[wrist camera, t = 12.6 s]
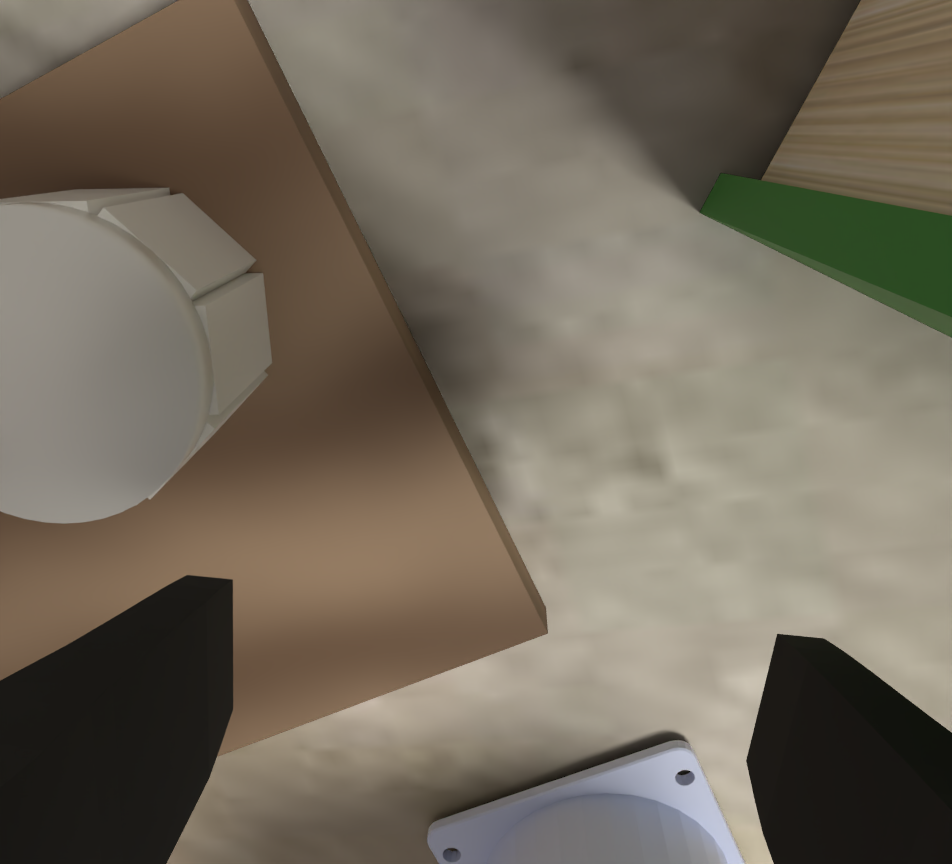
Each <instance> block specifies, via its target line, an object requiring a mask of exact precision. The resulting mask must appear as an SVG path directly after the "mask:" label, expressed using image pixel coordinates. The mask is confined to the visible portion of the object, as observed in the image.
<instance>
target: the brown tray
mask: <svg viewBox="0 0 952 864" xmlns="http://www.w3.org/2000/svg"><path fill="white" fill-rule="evenodd" d="M122 188H169V190H170V195H175V194H180V193H183V194H184V195H186V196H187V197H188V198H189V199H190V200H191V201H192V202H193V203H194V204H195V205H197V206H198V207H199V208H200V209H201V210H202V211H203V212H204V213H205V214H206V215H207V216H209V217H210V218H211V219H212V220H213V221H214V222H215V223H216V224H217V225H218V226H220V227H221V228H222V229H223V230H224V231H225V232H226V233H227V234H228V235H229V236H231V237H232V238H233V239H234V240H235V241H236V242H237V243H238V244H239V245H240V246H242V247H243V248H244V249H245V250H246V251H247V252H248V253H249V254H250V255H251V256H252V257H254V258H255V259H256V261H255V263H254V264H253V265H252V266H251V267H250V268H249V269H248V271H247V272H246V273H263V278H264V287H265V297H266V307H267V317H268V327H269V337H270V347H271V356H272V364H271V365H270V366H269V367H267V368H266V369H265V370H264V371H265V372H266V373H267V374H268V376H267V377H266V378H265V379H264V380H263V381H262V382H261V383H260V385H259V386H258V387H257V388H256V389H255V390H254V391H253V392H252V393H251V394H250V395H249V397H248V398H247V399H246V400H245V401H244V402H243V403H242V404H241V405H240V406H239V408H238V409H237V410H236V411H235V412H234V413H233V414H232V415H231V416H230V417H229V419H228V420H227V421H226V422H225V423H224V424H223V425H222V426H221V427H220V428H219V429H218V431H217V432H216V433H215V434H214V435H213V436H212V437H211V438H210V439H209V440H208V441H207V442H206V443H205V444H204V445H203V446H202V447H201V448H200V449H199V450H198V451H197V452H196V453H195V454H194V455H193V456H192V457H191V458H190V459H189V460H188V462H187V463H186V464H185V465H184V466H183V467H182V468H181V469H180V470H179V471H178V472H177V473H176V474H175V475H174V476H173V477H172V478H171V479H170V480H169V481H168V482H167V483H166V484H165V485H164V486H163V487H162V488H161V489H160V490H159V491H158V492H157V493H156V494H155V495H154V496H153V497H152V498H151V499H148V498H146V499H144V500H143V501H141V502H140V503H139V504H138V505H135V506H133V507H131V508H129V509H127V510H125V511H123V512H121V513H118V514H115V515H112V516H109V517H107V518H104V519H99V520H94V521H88V522H82V523H66V524H63V523H46V522H39V521H34V520H28V519H23V518H20V517H16V516H13V515H10V514H6V513H3V512H1V511H0V680H2V679H4V678H6V677H8V676H9V675H11V674H13V673H15V672H17V671H19V670H21V669H23V668H24V667H26V666H28V665H30V664H32V663H34V662H36V661H38V660H39V659H41V658H43V657H45V656H47V655H49V654H51V653H53V652H55V651H56V650H58V649H60V648H62V647H64V646H66V645H68V644H69V643H71V642H73V641H75V640H76V639H78V638H80V637H81V636H83V635H85V634H86V633H88V632H90V631H92V630H93V629H95V628H97V627H98V626H100V625H102V624H103V623H105V622H107V621H109V620H110V619H112V618H114V617H115V616H117V615H119V614H120V613H122V612H124V611H125V610H127V609H129V608H130V607H132V606H134V605H135V604H137V603H139V602H140V601H142V600H144V599H145V598H147V597H149V596H150V595H152V594H154V593H155V592H157V591H159V590H160V589H162V588H164V587H166V586H167V585H169V584H171V583H173V582H174V581H176V580H178V579H180V578H182V577H184V576H186V575H193V576H203V577H213V578H223V579H233V712H232V715H231V717H230V720H229V723H228V726H227V729H226V732H225V735H224V738H223V741H222V744H221V747H220V750H219V752H218V755H217V756H220V755H223V754H225V753H228V752H231V751H233V750H236V749H239V748H241V747H244V746H247V745H250V744H252V743H255V742H258V741H260V740H263V739H266V738H268V737H271V736H274V735H276V734H279V733H282V732H284V731H287V730H290V729H292V728H295V727H298V726H301V725H303V724H306V723H309V722H311V721H314V720H317V719H319V718H322V717H325V716H327V715H330V714H333V713H335V712H338V711H341V710H343V709H346V708H349V707H352V706H354V705H357V704H360V703H362V702H365V701H368V700H370V699H373V698H376V697H378V696H381V695H384V694H386V693H389V692H392V691H394V690H397V689H400V688H403V687H405V686H408V685H411V684H413V683H416V682H419V681H421V680H424V679H427V678H429V677H432V676H435V675H437V674H440V673H443V672H445V671H448V670H451V669H454V668H456V667H459V666H462V665H464V664H467V663H470V662H472V661H475V660H478V659H480V658H483V657H486V656H488V655H491V654H494V653H496V652H499V651H502V650H505V649H507V648H510V647H513V646H515V645H518V644H521V643H523V642H526V641H529V640H531V639H534V638H537V637H539V636H542V635H545V634H547V633H548V629H547V617H546V607H545V605H544V603H543V601H542V599H541V597H540V595H539V593H538V591H537V589H536V587H535V585H534V583H533V581H532V579H531V577H530V575H529V573H528V571H527V569H526V566H525V564H524V562H523V560H522V558H521V556H520V554H519V552H518V550H517V548H516V546H515V544H514V542H513V540H512V538H511V536H510V534H509V532H508V530H507V528H506V526H505V524H504V522H503V520H502V518H501V516H500V514H499V512H498V509H497V507H496V505H495V503H494V501H493V499H492V497H491V495H490V493H489V491H488V489H487V487H486V485H485V483H484V481H483V479H482V477H481V475H480V473H479V471H478V469H477V467H476V465H475V463H474V461H473V459H472V457H471V455H470V452H469V450H468V448H467V446H466V444H465V442H464V440H463V438H462V436H461V434H460V432H459V430H458V428H457V426H456V424H455V422H454V420H453V418H452V416H451V414H450V412H449V410H448V408H447V406H446V404H445V402H444V400H443V398H442V395H441V393H440V391H439V389H438V387H437V385H436V383H435V381H434V379H433V377H432V375H431V373H430V371H429V369H428V367H427V365H426V363H425V361H424V359H423V357H422V355H421V353H420V351H419V349H418V347H417V345H416V343H415V341H414V338H413V336H412V334H411V332H410V330H409V328H408V326H407V324H406V322H405V320H404V318H403V316H402V314H401V312H400V310H399V308H398V306H397V304H396V302H395V300H394V298H393V296H392V294H391V292H390V290H389V288H388V286H387V284H386V281H385V279H384V277H383V275H382V273H381V271H380V269H379V267H378V265H377V263H376V261H375V259H374V257H373V255H372V253H371V251H370V249H369V247H368V245H367V243H366V241H365V239H364V237H363V235H362V233H361V231H360V229H359V227H358V224H357V222H356V220H355V218H354V216H353V214H352V212H351V210H350V208H349V206H348V204H347V202H346V200H345V198H344V196H343V194H342V192H341V190H340V188H339V186H338V184H337V182H336V180H335V178H334V176H333V174H332V172H331V170H330V167H329V165H328V163H327V161H326V159H325V157H324V155H323V153H322V151H321V149H320V147H319V145H318V143H317V141H316V139H315V137H314V135H313V133H312V131H311V129H310V127H309V125H308V123H307V121H306V119H305V117H304V115H303V113H302V110H301V108H300V106H299V104H298V102H297V100H296V98H295V96H294V94H293V92H292V90H291V88H290V86H289V84H288V82H287V80H286V78H285V76H284V74H283V72H282V70H281V68H280V66H279V64H278V62H277V60H276V58H275V55H274V53H273V51H272V49H271V47H270V45H269V43H268V41H267V39H266V37H265V35H264V33H263V31H262V29H261V27H260V25H259V23H258V21H257V19H256V17H255V15H254V13H253V11H252V9H251V7H250V5H249V3H248V1H247V0H178V1H177V2H175V3H173V4H171V5H169V6H168V7H166V8H164V9H162V10H160V11H159V12H157V13H155V14H153V15H151V16H150V17H148V18H146V19H144V20H142V21H141V22H139V23H137V24H135V25H133V26H131V27H130V28H128V29H126V30H124V31H122V32H121V33H119V34H117V35H115V36H113V37H112V38H110V39H108V40H106V41H104V42H103V43H101V44H99V45H97V46H95V47H94V48H92V49H90V50H88V51H86V52H85V53H83V54H81V55H79V56H77V57H75V58H74V59H72V60H70V61H68V62H66V63H65V64H63V65H61V66H59V67H57V68H56V69H54V70H52V71H50V72H48V73H47V74H45V75H43V76H41V77H39V78H38V79H36V80H34V81H32V82H30V83H28V84H27V85H25V86H23V87H21V88H19V89H18V90H16V91H14V92H12V93H10V94H9V95H7V96H5V97H3V98H1V99H0V199H5V198H13V197H20V196H28V195H36V194H43V193H51V192H59V191H67V190H74V189H122Z"/></svg>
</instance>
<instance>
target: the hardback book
mask: <svg viewBox="0 0 952 864" xmlns="http://www.w3.org/2000/svg"><path fill="white" fill-rule="evenodd" d="M700 213H701V214H703V215H705V216H707V217H709V218H711V219H714V220H716V221H718V222H720V223H722V224H724V225H726V226H728V227H730V228H732V229H734V230H736V231H738V232H740V233H742V234H744V235H746V236H748V237H750V238H752V239H754V240H756V241H758V242H760V243H762V244H764V245H766V246H768V247H770V248H772V249H774V250H776V251H778V252H780V253H782V254H784V255H786V256H788V257H790V258H792V259H794V260H796V261H798V262H800V263H802V264H804V265H806V266H808V267H810V268H812V269H814V270H816V271H818V272H820V273H822V274H824V275H827V276H829V277H831V278H833V279H835V280H837V281H839V282H841V283H843V284H845V285H847V286H849V287H851V288H853V289H855V290H857V291H859V292H861V293H863V294H865V295H867V296H869V297H871V298H873V299H875V300H877V301H879V302H881V303H883V304H885V305H887V306H889V307H891V308H893V309H895V310H897V311H899V312H901V313H903V314H905V315H907V316H909V317H911V318H913V319H915V320H917V321H919V322H921V323H923V324H925V325H927V326H929V327H931V328H933V329H935V330H937V331H940V332H942V333H944V334H946V335H948V336H950V337H952V0H861V1H860V3H859V5H858V7H857V8H856V10H855V12H854V14H853V16H852V17H851V19H850V21H849V23H848V25H847V26H846V28H845V30H844V32H843V34H842V35H841V37H840V39H839V41H838V43H837V44H836V46H835V48H834V50H833V52H832V53H831V55H830V57H829V59H828V60H827V62H826V64H825V66H824V68H823V69H822V71H821V73H820V75H819V77H818V78H817V80H816V82H815V84H814V86H813V87H812V89H811V91H810V93H809V95H808V96H807V98H806V100H805V102H804V104H803V105H802V107H801V109H800V111H799V113H798V114H797V116H796V118H795V120H794V122H793V123H792V125H791V127H790V129H789V131H788V132H787V134H786V136H785V138H784V140H783V141H782V143H781V145H780V147H779V149H778V150H777V152H776V154H775V156H774V158H773V159H772V161H771V163H770V165H769V167H768V168H767V170H766V172H765V174H764V176H763V177H762V179H761V180H757V179H751V178H746V177H740V176H735V175H730V174H724V173H721V174H720V175H719V177H718V179H717V181H716V183H715V185H714V187H713V188H712V190H711V192H710V194H709V196H708V198H707V200H706V201H705V203H704V205H703V207H702V209H701V211H700Z"/></svg>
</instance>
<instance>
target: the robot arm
mask: <svg viewBox="0 0 952 864" xmlns="http://www.w3.org/2000/svg"><path fill="white" fill-rule="evenodd" d="M232 712H233V579H223V578H213V577H203V576H193V575H186V576H184V577H182V578H180V579H178V580H176V581H174V582H173V583H171V584H169V585H167V586H166V587H164V588H162V589H160V590H159V591H157V592H155V593H154V594H152V595H150V596H149V597H147V598H145V599H144V600H142V601H140V602H139V603H137V604H135V605H134V606H132V607H130V608H129V609H127V610H125V611H124V612H122V613H120V614H119V615H117V616H115V617H114V618H112V619H110V620H109V621H107V622H105V623H103V624H102V625H100V626H98V627H97V628H95V629H93V630H92V631H90V632H88V633H86V634H85V635H83V636H81V637H80V638H78V639H76V640H75V641H73V642H71V643H69V644H68V645H66V646H64V647H62V648H60V649H58V650H56V651H55V652H53V653H51V654H49V655H47V656H45V657H43V658H41V659H39V660H38V661H36V662H34V663H32V664H30V665H28V666H26V667H24V668H23V669H21V670H19V671H17V672H15V673H13V674H11V675H9V676H8V677H6V678H4V679H2V680H0V864H166V863H167V861H168V859H169V857H170V855H171V853H172V851H173V849H174V847H175V845H176V843H177V841H178V839H179V837H180V835H181V833H182V831H183V829H184V827H185V825H186V823H187V821H188V819H189V817H190V815H191V813H192V811H193V810H194V808H195V806H196V804H197V802H198V800H199V798H200V796H201V793H202V791H203V789H204V787H205V785H206V783H207V781H208V779H209V777H210V774H211V771H212V769H213V766H214V763H215V760H216V758H217V755H218V752H219V750H220V747H221V744H222V741H223V738H224V735H225V732H226V729H227V726H228V723H229V720H230V717H231V715H232ZM746 761H747V766H748V770H749V775H750V780H751V784H752V789H753V794H754V798H755V803H756V807H757V811H758V815H759V819H760V823H761V827H762V831H763V835H764V837H765V840H766V843H767V846H768V849H769V851H770V854H771V857H772V860H773V862H774V864H952V733H951V732H950V731H949V730H947V729H946V728H945V727H943V726H942V725H941V724H939V723H938V722H937V721H935V720H934V719H933V718H931V717H930V716H929V715H927V714H926V713H925V712H923V711H922V710H921V709H919V708H918V707H917V706H915V705H914V704H913V703H912V702H910V701H909V700H908V699H906V698H905V697H904V696H902V695H901V694H900V693H898V692H897V691H896V690H895V689H893V688H892V687H891V686H889V685H888V684H887V683H885V682H884V681H883V680H881V679H880V678H879V677H878V676H876V675H875V674H874V673H872V672H871V671H870V670H868V669H867V668H866V667H864V666H863V665H862V664H860V663H859V662H858V661H856V660H855V659H854V658H852V657H851V656H849V655H848V654H847V653H845V652H844V651H842V650H841V649H839V648H838V647H836V646H835V645H833V644H832V643H830V642H829V641H827V640H825V639H823V638H813V637H803V636H793V635H783V634H777V638H776V642H775V646H774V650H773V654H772V658H771V662H770V666H769V670H768V674H767V678H766V683H765V687H764V691H763V695H762V699H761V703H760V707H759V711H758V715H757V719H756V723H755V728H754V732H753V736H752V740H751V744H750V748H749V752H748V756H747V760H746ZM681 770H689V771H690V772H689V773H688V774H686V775H678V774H677V773H678V772H680V771H681ZM427 843H428V846H429V848H430V849H431V851H432V853H433V854H434V856H435V858H436V859H437V861H438V863H439V864H746V863H745V861H744V859H743V857H742V854H741V852H740V850H739V848H738V846H737V843H736V841H735V839H734V837H733V835H732V832H731V830H730V828H729V826H728V824H727V822H726V819H725V817H724V815H723V813H722V811H721V808H720V806H719V804H718V802H717V800H716V797H715V795H714V793H713V791H712V789H711V786H710V784H709V782H708V780H707V778H706V775H705V773H704V771H703V769H702V767H701V765H700V762H699V760H698V758H697V756H696V754H695V751H694V749H693V748H692V747H691V745H690V744H688V743H686V742H685V741H680V740H674V741H669V742H666V743H663V744H660V745H657V746H654V747H651V748H648V749H645V750H642V751H639V752H636V753H633V754H631V755H628V756H625V757H622V758H619V759H616V760H613V761H610V762H607V763H604V764H601V765H598V766H595V767H592V768H589V769H586V770H584V771H581V772H578V773H575V774H572V775H569V776H566V777H563V778H560V779H557V780H554V781H551V782H548V783H545V784H542V785H539V786H537V787H534V788H531V789H528V790H525V791H522V792H519V793H516V794H513V795H510V796H507V797H504V798H501V799H498V800H495V801H492V802H489V803H487V804H484V805H481V806H478V807H475V808H472V809H469V810H466V811H463V812H460V813H457V814H454V815H451V816H448V817H445V818H442V819H440V820H437V821H435V822H433V823H432V824H431V825H430V827H429V830H428V836H427ZM447 848H455V849H458V850H457V851H450V850H447Z"/></svg>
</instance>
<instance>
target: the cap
mask: <svg viewBox="0 0 952 864" xmlns="http://www.w3.org/2000/svg"><path fill="white" fill-rule="evenodd" d="M255 261H256V259H255V258H254V257H252V256H251V255H250V254H249V253H248V252H247V251H246V250H245V249H244V248H243V247H242V246H240V245H239V244H238V243H237V242H236V241H235V240H234V239H233V238H232V237H231V236H229V235H228V234H227V233H226V232H225V231H224V230H223V229H222V228H221V227H220V226H218V225H217V224H216V223H215V222H214V221H213V220H212V219H211V218H210V217H209V216H207V215H206V214H205V213H204V212H203V211H202V210H201V209H200V208H199V207H198V206H197V205H195V204H194V203H193V202H192V201H191V200H190V199H189V198H188V197H187V196H186V195H184V194H183V193H180V194H175V195H170V190H169V188H122V189H74V190H67V191H59V192H51V193H43V194H36V195H28V196H20V197H13V198H5V199H0V511H1V512H3V513H6V514H10V515H13V516H16V517H20V518H23V519H28V520H34V521H39V522H46V523H63V524H66V523H82V522H88V521H94V520H99V519H104V518H107V517H109V516H112V515H115V514H118V513H121V512H123V511H125V510H127V509H129V508H131V507H133V506H135V505H138V504H139V503H140V502H141V501H143V500H144V499H146V498H148V499H151V498H152V497H153V496H154V495H155V494H156V493H157V492H158V491H159V490H160V489H161V488H162V487H163V486H164V485H165V484H166V483H167V482H168V481H169V480H170V479H171V478H172V477H173V476H174V475H175V474H176V473H177V472H178V471H179V470H180V469H181V468H182V467H183V466H184V465H185V464H186V463H187V462H188V460H189V459H190V458H191V457H192V456H193V455H194V454H195V453H196V452H197V451H198V450H199V449H200V448H201V447H202V446H203V445H204V444H205V443H206V442H207V441H208V440H209V439H210V438H211V437H212V436H213V435H214V434H215V433H216V432H217V431H218V429H219V428H220V427H221V426H222V425H223V424H224V423H225V422H226V421H227V420H228V419H229V417H230V416H231V415H232V414H233V413H234V412H235V411H236V410H237V409H238V408H239V406H240V405H241V404H242V403H243V402H244V401H245V400H246V399H247V398H248V397H249V395H250V394H251V393H252V392H253V391H254V390H255V389H256V388H257V387H258V386H259V385H260V383H261V382H262V381H263V380H264V379H265V378H266V377H267V376H268V374H267V373H266V372H265V371H264V370H265V369H266V368H267V367H269V366H270V365H271V364H272V356H271V347H270V337H269V327H268V317H267V307H266V297H265V287H264V278H263V273H246V272H247V271H248V269H249V268H250V267H251V266H252V265H253V264H254V263H255Z"/></svg>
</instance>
